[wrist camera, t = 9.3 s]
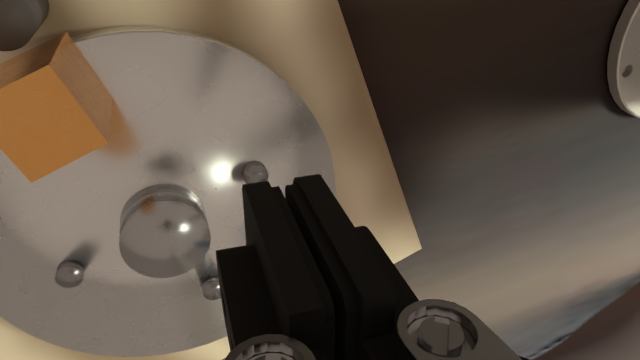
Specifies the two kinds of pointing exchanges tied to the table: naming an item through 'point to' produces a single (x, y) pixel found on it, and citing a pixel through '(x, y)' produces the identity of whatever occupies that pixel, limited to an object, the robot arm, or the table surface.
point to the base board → (284, 58)
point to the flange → (136, 182)
